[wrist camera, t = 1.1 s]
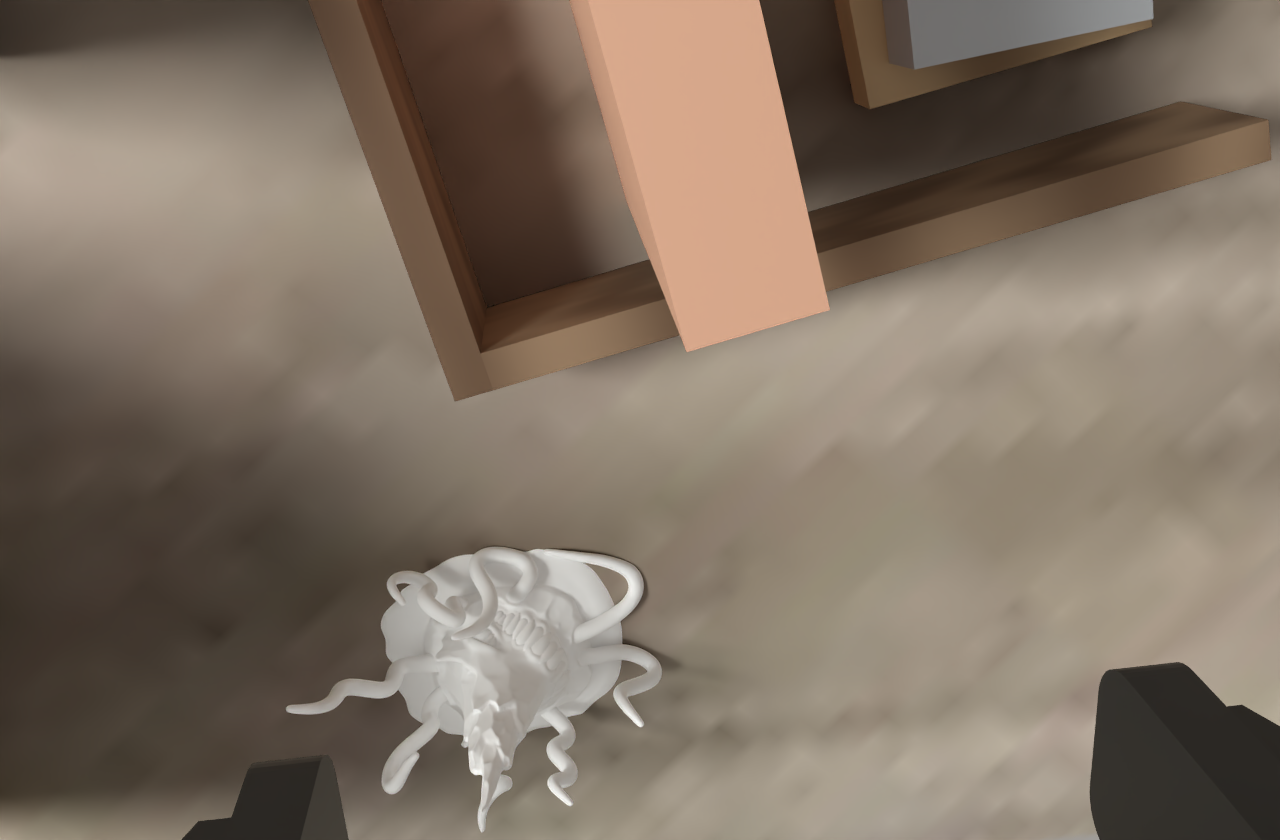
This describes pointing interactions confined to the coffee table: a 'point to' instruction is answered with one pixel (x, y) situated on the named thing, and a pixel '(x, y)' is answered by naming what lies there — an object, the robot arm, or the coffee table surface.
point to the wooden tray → (843, 233)
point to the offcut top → (994, 25)
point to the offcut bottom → (893, 83)
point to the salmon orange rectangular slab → (705, 160)
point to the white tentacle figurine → (503, 658)
